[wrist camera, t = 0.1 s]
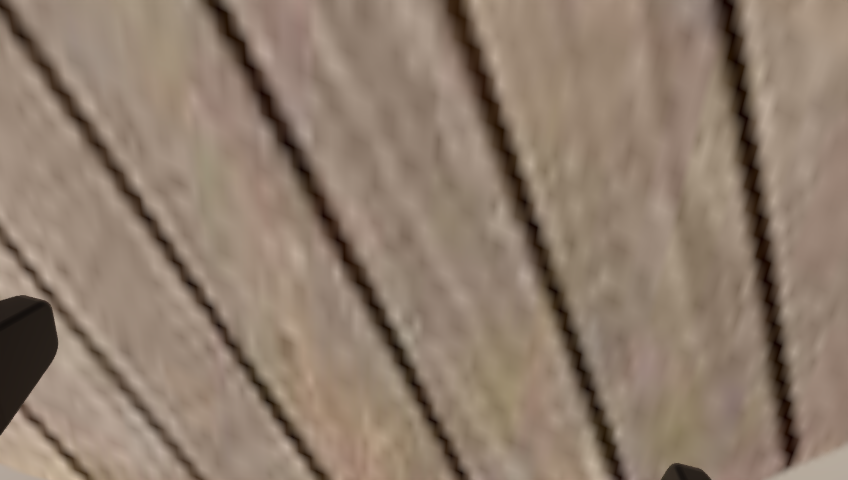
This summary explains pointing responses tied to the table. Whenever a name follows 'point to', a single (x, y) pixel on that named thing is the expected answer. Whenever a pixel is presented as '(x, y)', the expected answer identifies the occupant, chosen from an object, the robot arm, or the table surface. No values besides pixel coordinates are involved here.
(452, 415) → the table surface
